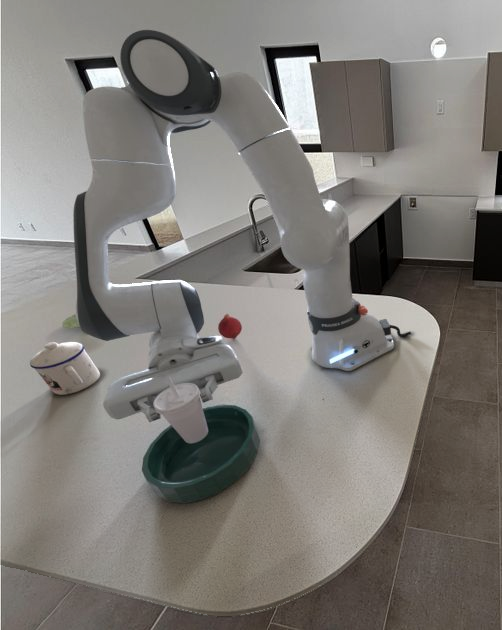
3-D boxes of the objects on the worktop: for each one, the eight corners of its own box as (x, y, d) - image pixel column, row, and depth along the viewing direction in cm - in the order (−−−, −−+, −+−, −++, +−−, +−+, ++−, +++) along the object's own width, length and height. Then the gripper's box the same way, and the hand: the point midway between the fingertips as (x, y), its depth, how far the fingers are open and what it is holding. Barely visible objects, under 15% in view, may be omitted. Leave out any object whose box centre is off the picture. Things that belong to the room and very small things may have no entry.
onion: (236, 345, 94) (227, 321, 89) (218, 342, 95) (208, 319, 90) (249, 333, 98) (241, 310, 94) (231, 331, 99) (223, 308, 95)
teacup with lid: (47, 386, 80) (16, 347, 74) (94, 365, 86) (69, 328, 80) (62, 407, 74) (30, 367, 68) (112, 383, 80) (86, 345, 74)
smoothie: (187, 456, 56) (152, 396, 48) (168, 439, 59) (132, 380, 51) (223, 430, 60) (197, 371, 53) (204, 415, 63) (176, 358, 56)
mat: (91, 333, 99) (88, 327, 98) (54, 332, 99) (50, 327, 98) (121, 313, 109) (118, 308, 108) (87, 313, 109) (84, 308, 108)
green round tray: (253, 409, 73) (247, 393, 71) (267, 472, 60) (260, 455, 58) (157, 444, 66) (146, 427, 63) (150, 525, 53) (136, 508, 50)
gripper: (100, 370, 58) (89, 422, 48) (229, 333, 68) (241, 370, 58) (117, 396, 61) (110, 450, 52) (238, 357, 71) (251, 396, 61)
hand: (181, 407), depth 55 cm, fingers closed on smoothie, 6 cm apart
